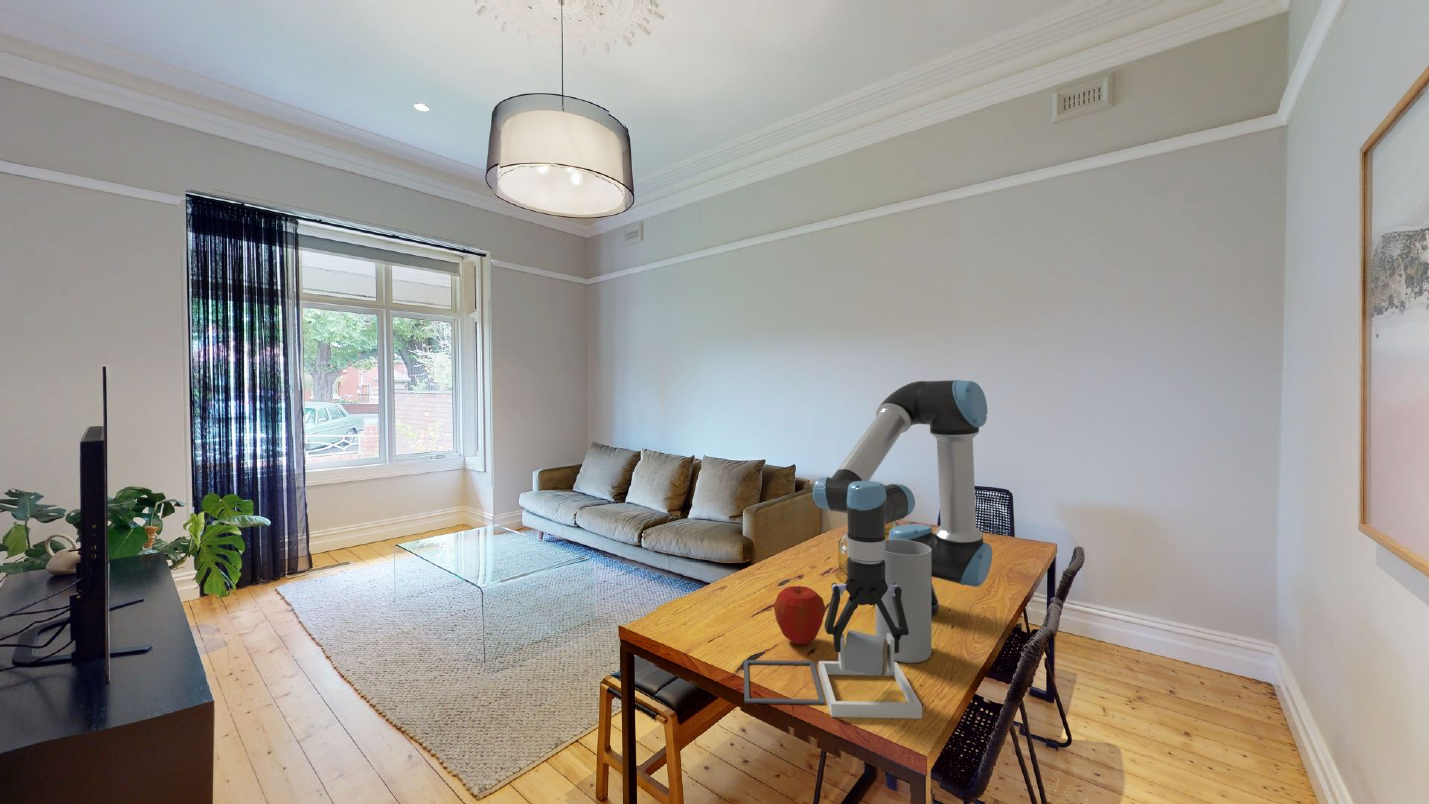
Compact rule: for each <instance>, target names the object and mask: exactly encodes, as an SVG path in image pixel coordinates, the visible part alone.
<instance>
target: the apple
mask: <svg viewBox="0 0 1429 804" xmlns="http://www.w3.org/2000/svg"><path fill="white" fill-rule="evenodd" d="M773 610H774V615H775V620H776V622H777V625H778V627H779V629H780V631H781V633H782V635H783V636H784V637H785V638H786V639H788V640H789V641H790V642H791V643H793V644H795V645H797V646H799V645H800V646H803V645H808V644H809V643H811V642H812V641H814V640H815V639H816V637H817V636H818V634H819V632H820V629H821V628H822V625H823V621H824V616H825V612H826V606H825V602H824V599H823V597H821V595H820V594H819V593H817V592H816V591H815V590H813V589H812V588H811V587H808V586H805V585H804V586H802V585H801V586H800V585H792V586H786V587H785V588H783V589H782V590H781V591H779V593H777V596H776V599H775V601H774V604H773Z"/></svg>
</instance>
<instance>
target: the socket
mask: <svg viewBox="0 0 1429 804" xmlns="http://www.w3.org/2000/svg"><path fill="white" fill-rule="evenodd" d="M818 675H819V680H820V683H821V687H822V688H823V694H824V697H825V701H826V703H827V706H828V710H829V712H830V717H831V718H863V719H864V718H865V719H866V718H868V719H869V718H870V719H871V718H872V719H873V718H874V719H915V720H916V719H917V720H920V719H923V705H922V704H921V702H920V700H919V698H918V696H917V694H916V692H915V691H914V690H913V688H912V686H911V684H910V682H909V681H908V679H907V678H906V676H905V674H904V672H903V671H902V669H901V668H900V665H899V664H898V661H894V671H890V669H889V667H888V666H887V669H886V674H885V675H883V676H888V677H893V678H894V679H895V681H896V684H897V686H898V687H899V689H900V690H901V693H902V695H903V696H904V697H905V700H906V701H862V700H861V701H855V700H854V701H853V700H849V701H848V700H845V701H844V700H836V698H835V694H834V691H833V688H832V684H831V682H830V681H831V680H830V679H829V676H830V675H831V676H872V675H871V674H866V673H860V672H855V671H850V670H846V669H845V670H841V669H840V666H839V660H835V661H834V660H819V661H818ZM828 675H829V676H828ZM883 676H882V677H883Z"/></svg>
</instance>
